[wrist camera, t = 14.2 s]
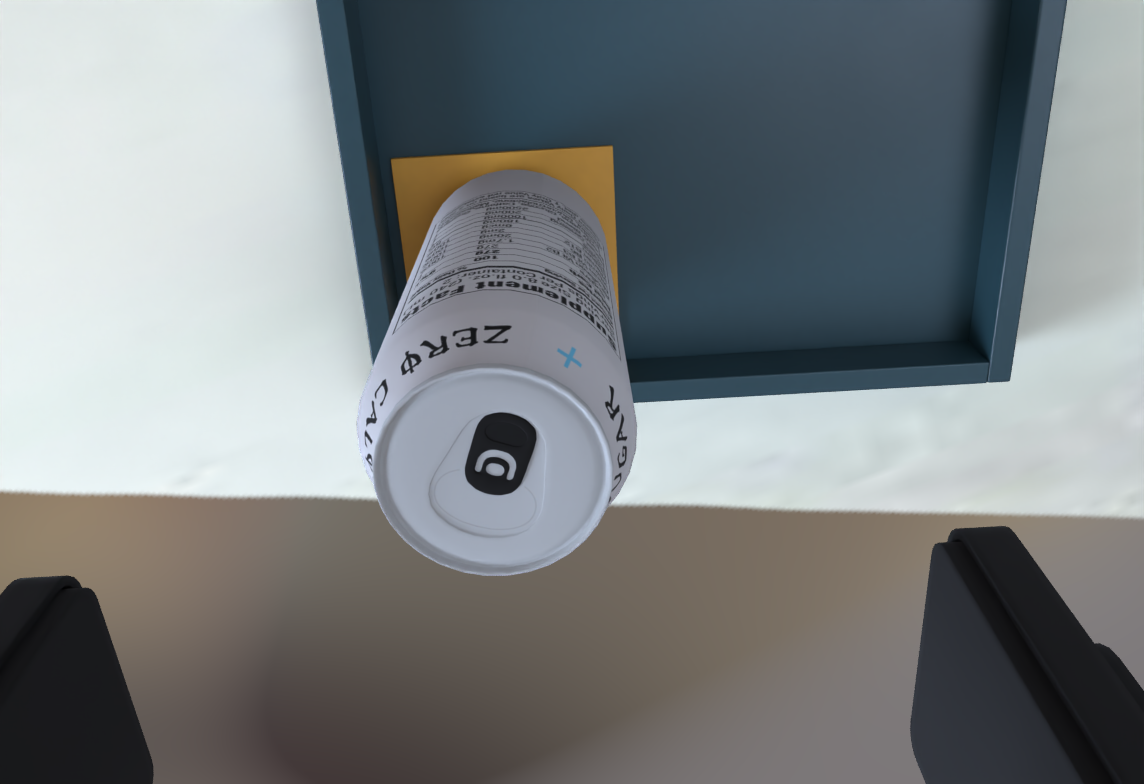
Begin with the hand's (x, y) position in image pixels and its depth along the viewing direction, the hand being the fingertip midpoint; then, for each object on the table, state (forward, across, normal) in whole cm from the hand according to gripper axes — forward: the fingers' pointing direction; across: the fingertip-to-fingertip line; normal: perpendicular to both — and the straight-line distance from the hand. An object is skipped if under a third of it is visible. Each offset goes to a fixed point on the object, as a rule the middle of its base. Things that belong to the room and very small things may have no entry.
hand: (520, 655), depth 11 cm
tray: (+24, -4, 0) cm, 25 cm away
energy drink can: (+24, +1, +3) cm, 24 cm away
